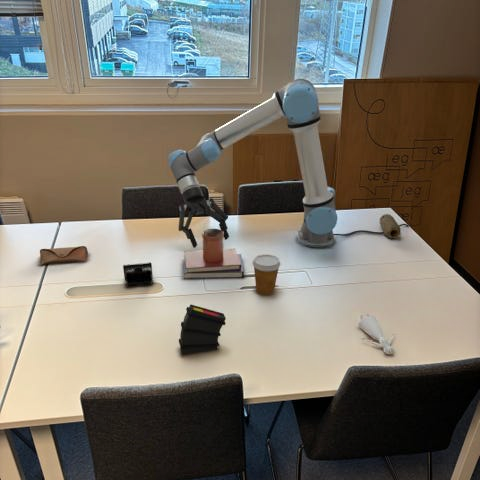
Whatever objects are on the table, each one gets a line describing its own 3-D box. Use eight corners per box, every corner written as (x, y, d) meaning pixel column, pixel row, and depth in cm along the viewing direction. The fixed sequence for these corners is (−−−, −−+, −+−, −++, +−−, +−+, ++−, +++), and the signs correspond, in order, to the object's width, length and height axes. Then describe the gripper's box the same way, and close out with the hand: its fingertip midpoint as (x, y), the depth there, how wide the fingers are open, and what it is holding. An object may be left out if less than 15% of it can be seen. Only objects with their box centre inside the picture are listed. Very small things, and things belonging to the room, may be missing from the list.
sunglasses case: (38, 265, 190) (36, 247, 190) (41, 266, 197) (39, 249, 197) (87, 261, 194) (85, 243, 194) (89, 262, 201) (87, 246, 200)
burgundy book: (235, 253, 197) (235, 248, 196) (241, 269, 185) (241, 264, 184) (184, 256, 194) (183, 251, 193) (186, 273, 182) (186, 268, 181)
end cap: (152, 275, 186) (150, 259, 182) (154, 285, 180) (152, 268, 176) (124, 278, 184) (122, 262, 180) (125, 288, 178) (123, 271, 174)
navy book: (241, 259, 198) (241, 253, 196) (243, 278, 185) (243, 271, 184) (184, 260, 197) (184, 254, 195) (183, 279, 184) (183, 272, 183)
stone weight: (375, 226, 228) (377, 212, 225) (390, 226, 229) (392, 212, 225) (386, 240, 216) (389, 225, 212) (402, 240, 216) (405, 225, 213)
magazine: (168, 345, 146) (188, 303, 141) (208, 355, 152) (229, 314, 146) (170, 353, 143) (191, 310, 138) (211, 362, 149) (232, 321, 143)
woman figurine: (382, 309, 160) (411, 344, 146) (379, 320, 162) (407, 356, 148) (348, 313, 157) (374, 349, 143) (346, 324, 160) (371, 361, 146)
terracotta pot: (223, 253, 192) (223, 228, 186) (224, 262, 185) (224, 236, 180) (202, 253, 191) (201, 228, 186) (202, 262, 185) (201, 237, 179)
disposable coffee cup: (278, 284, 181) (280, 254, 175) (278, 298, 174) (280, 267, 167) (252, 283, 182) (253, 253, 176) (250, 296, 174) (251, 265, 168)
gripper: (215, 190, 197) (236, 239, 195) (157, 201, 185) (178, 253, 183) (222, 180, 190) (243, 231, 188) (163, 191, 179) (184, 245, 177)
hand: (211, 242), depth 186 cm, fingers open, 13 cm apart
